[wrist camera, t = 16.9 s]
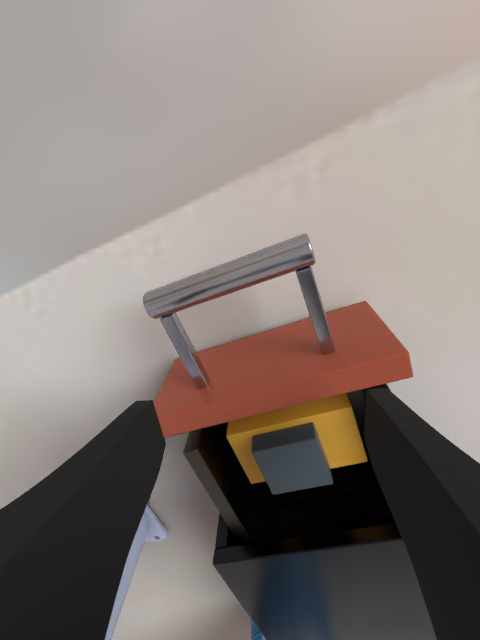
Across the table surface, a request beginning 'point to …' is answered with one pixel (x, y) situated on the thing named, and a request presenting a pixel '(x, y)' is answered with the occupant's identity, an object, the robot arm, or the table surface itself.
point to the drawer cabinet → (327, 585)
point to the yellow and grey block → (298, 444)
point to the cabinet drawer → (274, 393)
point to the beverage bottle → (256, 632)
